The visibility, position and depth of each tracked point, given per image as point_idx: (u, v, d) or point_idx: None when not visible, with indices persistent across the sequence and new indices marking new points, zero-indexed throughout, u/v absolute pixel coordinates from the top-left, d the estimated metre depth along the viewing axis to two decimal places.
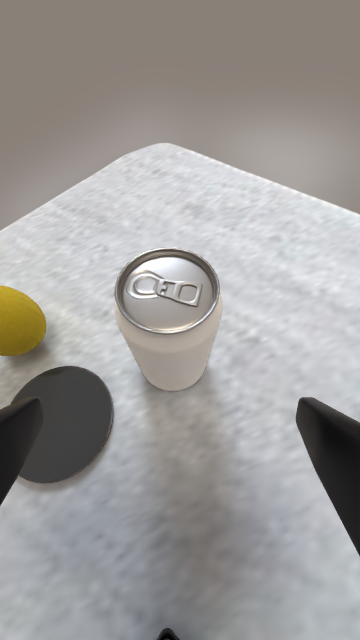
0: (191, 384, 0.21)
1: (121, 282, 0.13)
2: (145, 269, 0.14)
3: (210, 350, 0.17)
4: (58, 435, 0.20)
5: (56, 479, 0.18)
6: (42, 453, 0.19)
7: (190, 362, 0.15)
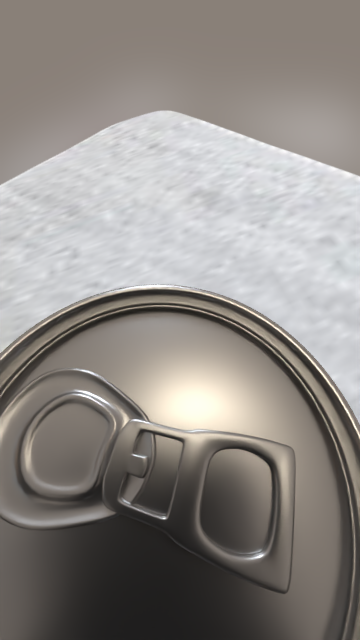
0: None
1: None
2: (75, 369, 0.04)
3: None
4: None
5: None
6: None
7: None
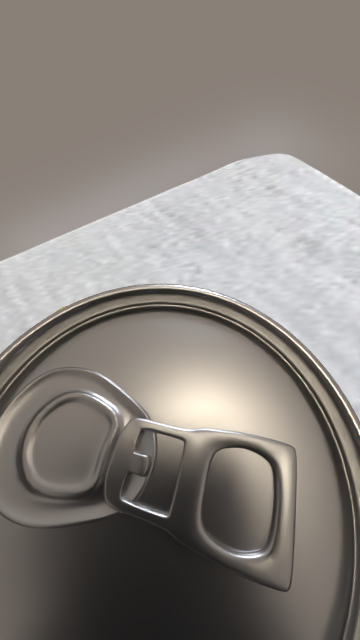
0: None
1: None
2: (77, 368, 0.04)
3: None
4: None
5: None
6: None
7: None
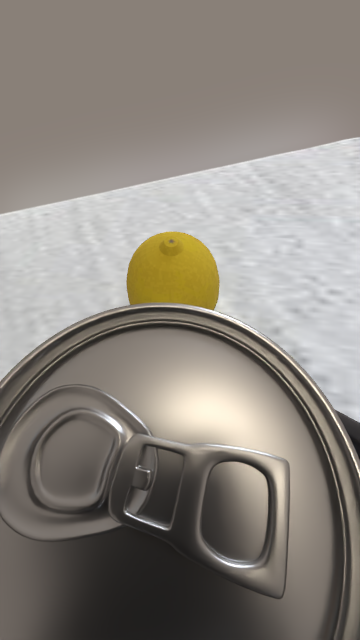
0: None
1: None
2: (80, 385, 0.04)
3: None
4: None
5: None
6: None
7: None
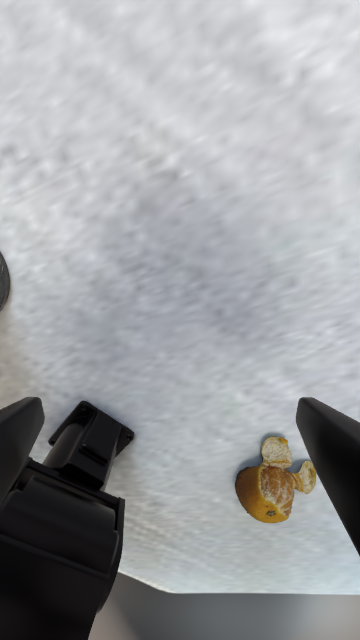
0: None
1: None
2: None
3: None
4: None
5: None
6: None
7: None
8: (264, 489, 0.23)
